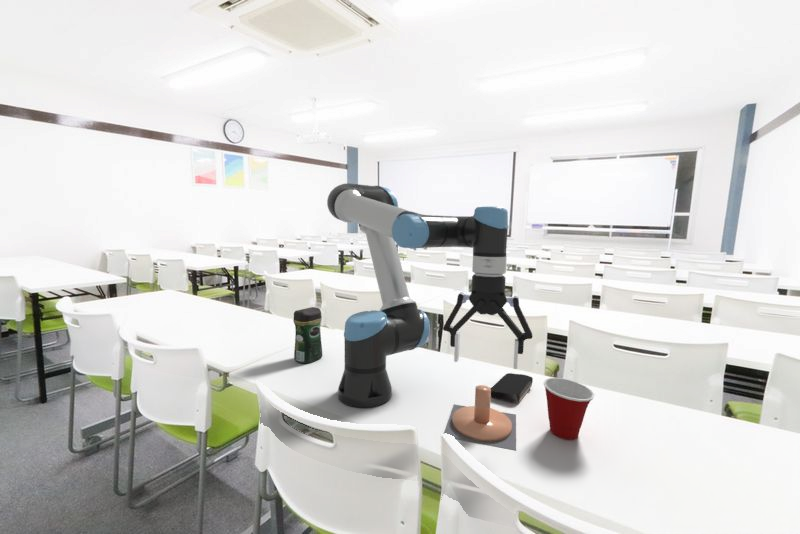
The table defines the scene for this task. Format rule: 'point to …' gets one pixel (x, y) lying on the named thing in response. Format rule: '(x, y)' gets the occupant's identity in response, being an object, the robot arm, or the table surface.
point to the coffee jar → (307, 335)
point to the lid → (482, 419)
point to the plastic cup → (566, 406)
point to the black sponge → (512, 387)
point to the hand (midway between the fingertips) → (485, 363)
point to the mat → (505, 443)
